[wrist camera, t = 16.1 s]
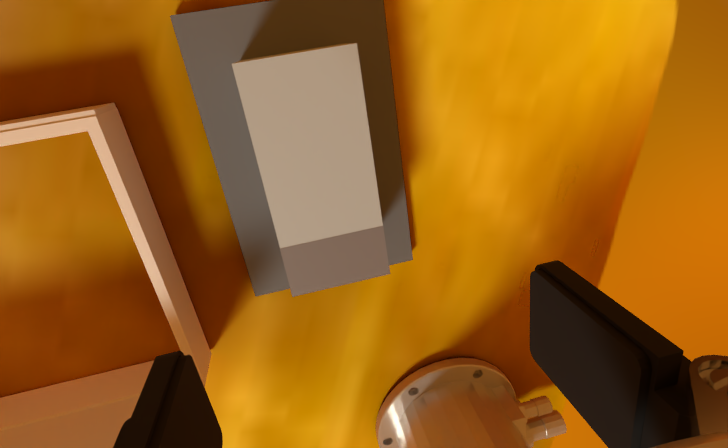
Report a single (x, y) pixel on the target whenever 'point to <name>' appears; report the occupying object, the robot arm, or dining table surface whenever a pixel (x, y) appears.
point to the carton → (123, 386)
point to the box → (316, 164)
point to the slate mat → (230, 129)
